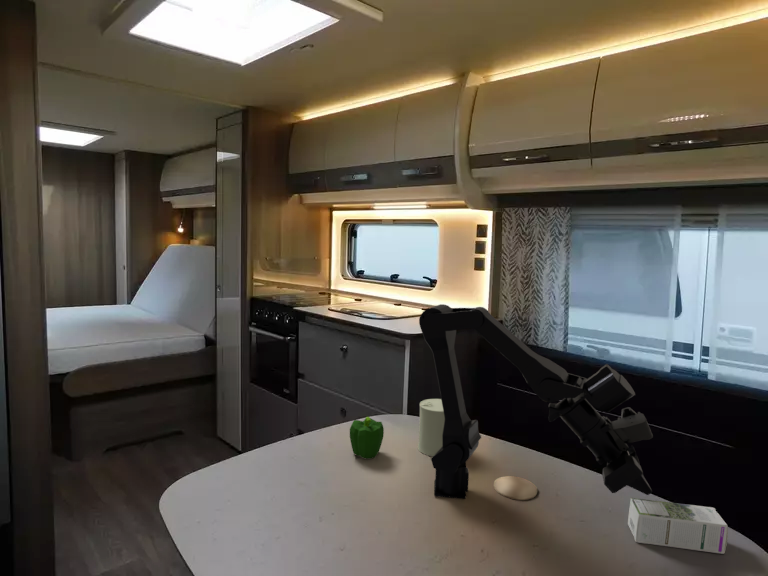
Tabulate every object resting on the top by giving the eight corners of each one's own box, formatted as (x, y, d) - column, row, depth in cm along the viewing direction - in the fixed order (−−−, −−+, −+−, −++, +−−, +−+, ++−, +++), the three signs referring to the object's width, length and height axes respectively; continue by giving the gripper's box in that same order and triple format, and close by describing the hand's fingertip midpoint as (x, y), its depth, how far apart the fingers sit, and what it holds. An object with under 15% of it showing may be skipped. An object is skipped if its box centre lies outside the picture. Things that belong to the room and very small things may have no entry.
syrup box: (635, 543, 90) (725, 556, 87) (638, 513, 89) (730, 525, 86) (626, 524, 95) (711, 536, 92) (630, 495, 94) (715, 506, 92)
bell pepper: (352, 445, 127) (353, 407, 126) (384, 448, 126) (385, 410, 125) (345, 460, 119) (346, 420, 117) (379, 463, 118) (381, 422, 116)
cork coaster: (496, 498, 104) (496, 495, 104) (491, 476, 113) (491, 474, 113) (540, 501, 103) (541, 499, 103) (532, 480, 112) (533, 477, 112)
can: (414, 441, 130) (416, 396, 129) (449, 440, 131) (451, 396, 130) (421, 457, 121) (423, 409, 120) (458, 456, 122) (460, 409, 121)
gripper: (632, 417, 81) (704, 494, 79) (618, 384, 99) (676, 446, 97) (577, 455, 85) (644, 530, 83) (572, 417, 102) (628, 478, 100)
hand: (649, 492), depth 91 cm, fingers closed
